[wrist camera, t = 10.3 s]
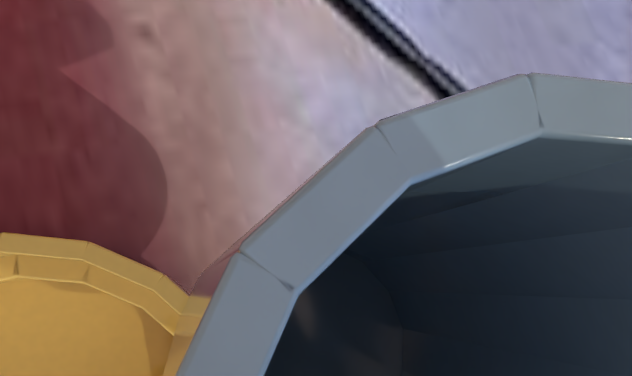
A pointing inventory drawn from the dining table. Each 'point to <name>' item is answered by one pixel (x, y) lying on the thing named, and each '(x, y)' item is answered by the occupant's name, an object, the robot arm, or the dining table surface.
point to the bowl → (82, 310)
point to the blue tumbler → (439, 248)
